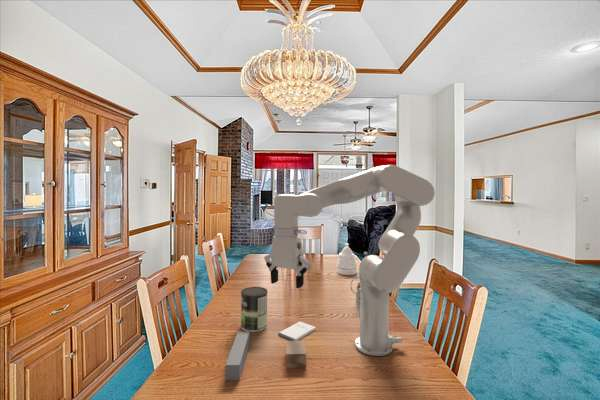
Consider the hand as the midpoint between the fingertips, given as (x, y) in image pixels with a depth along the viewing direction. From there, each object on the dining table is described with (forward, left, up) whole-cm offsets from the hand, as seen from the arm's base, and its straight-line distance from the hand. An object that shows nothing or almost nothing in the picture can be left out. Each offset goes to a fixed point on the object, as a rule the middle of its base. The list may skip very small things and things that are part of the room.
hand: (286, 284), depth 101 cm
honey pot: (-37, -97, -23) cm, 107 cm away
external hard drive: (-4, -15, -24) cm, 29 cm away
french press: (-35, -42, -23) cm, 60 cm away
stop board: (+15, +4, -23) cm, 28 cm away
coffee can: (+13, -20, -23) cm, 34 cm away
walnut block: (-3, +4, -23) cm, 24 cm away
